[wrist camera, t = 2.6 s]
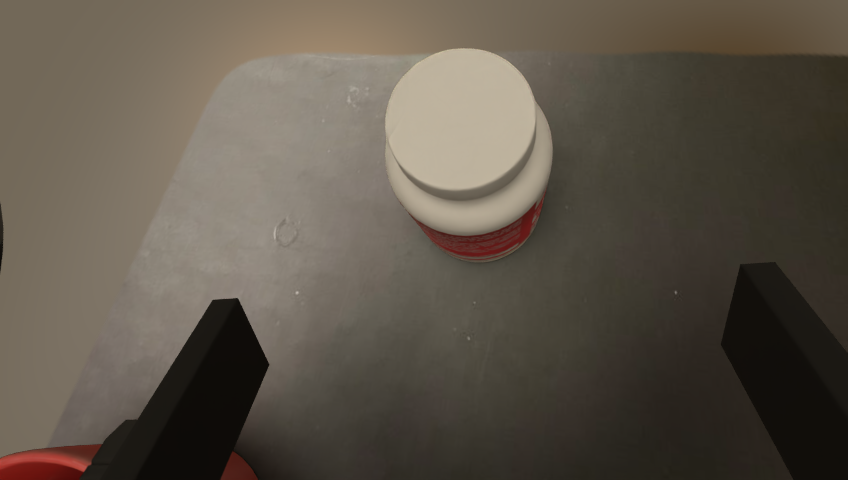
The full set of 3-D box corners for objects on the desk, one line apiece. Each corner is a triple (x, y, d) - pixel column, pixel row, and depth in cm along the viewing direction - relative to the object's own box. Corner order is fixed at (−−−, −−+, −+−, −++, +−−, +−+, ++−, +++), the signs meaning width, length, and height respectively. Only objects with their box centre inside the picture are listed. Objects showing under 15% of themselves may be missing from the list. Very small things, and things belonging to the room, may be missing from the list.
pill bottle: (552, 250, 25) (585, 190, 14) (432, 275, 26) (378, 235, 15) (525, 135, 26) (536, 1, 16) (411, 161, 27) (347, 51, 16)
